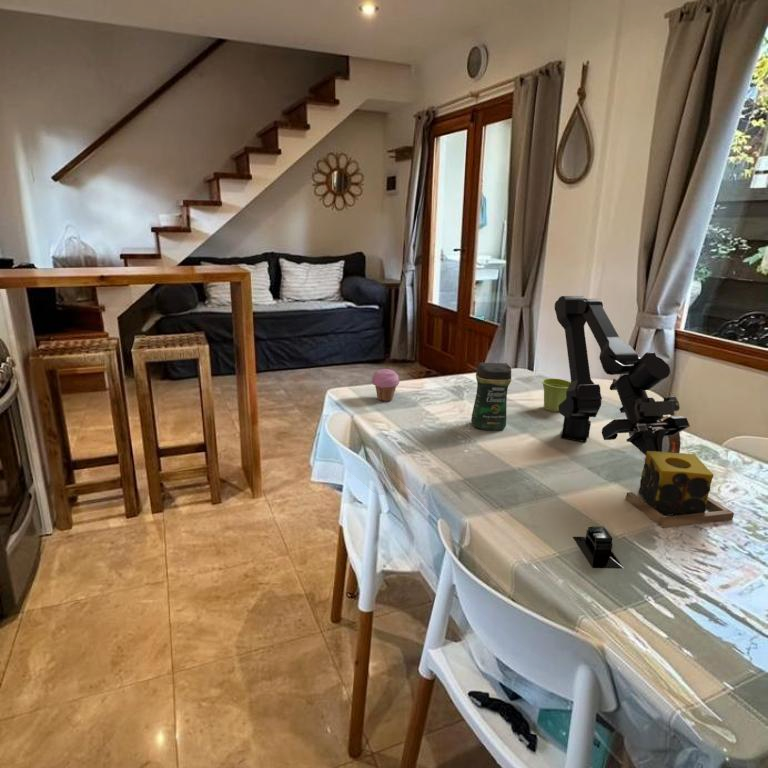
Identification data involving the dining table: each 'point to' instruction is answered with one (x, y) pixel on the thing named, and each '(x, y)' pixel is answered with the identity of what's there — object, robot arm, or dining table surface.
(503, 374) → the coffee jar
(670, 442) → the tin
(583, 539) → the black block on plate
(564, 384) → the plant pot
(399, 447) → the dining table surface
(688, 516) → the brown flat tray
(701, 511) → the yellow holed cube
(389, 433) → the dining table surface
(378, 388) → the cupcake
